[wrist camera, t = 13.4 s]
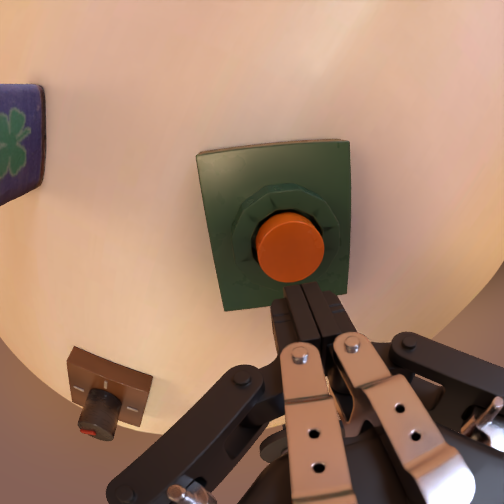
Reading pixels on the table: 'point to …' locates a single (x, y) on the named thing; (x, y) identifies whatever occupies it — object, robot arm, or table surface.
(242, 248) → the button box
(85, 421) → the knob
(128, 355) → the table surface
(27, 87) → the flask
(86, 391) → the panel
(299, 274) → the button
